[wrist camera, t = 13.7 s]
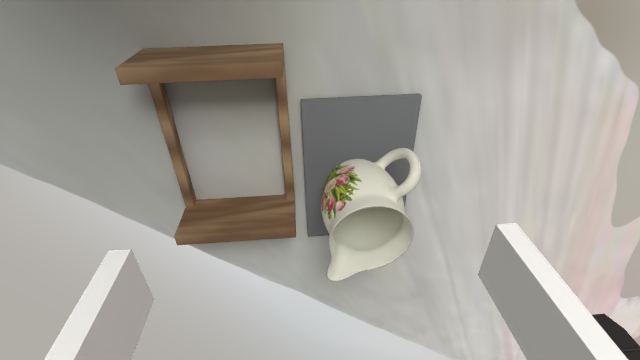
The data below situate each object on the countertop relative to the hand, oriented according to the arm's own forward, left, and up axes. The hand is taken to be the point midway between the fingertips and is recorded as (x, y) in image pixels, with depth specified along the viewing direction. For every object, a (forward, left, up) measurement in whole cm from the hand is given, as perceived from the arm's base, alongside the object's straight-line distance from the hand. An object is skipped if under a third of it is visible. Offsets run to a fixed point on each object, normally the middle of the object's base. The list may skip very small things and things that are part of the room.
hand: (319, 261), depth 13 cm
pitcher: (+19, +8, -34) cm, 40 cm away
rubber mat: (+19, +8, -35) cm, 40 cm away
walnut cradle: (+12, -10, -35) cm, 38 cm away
